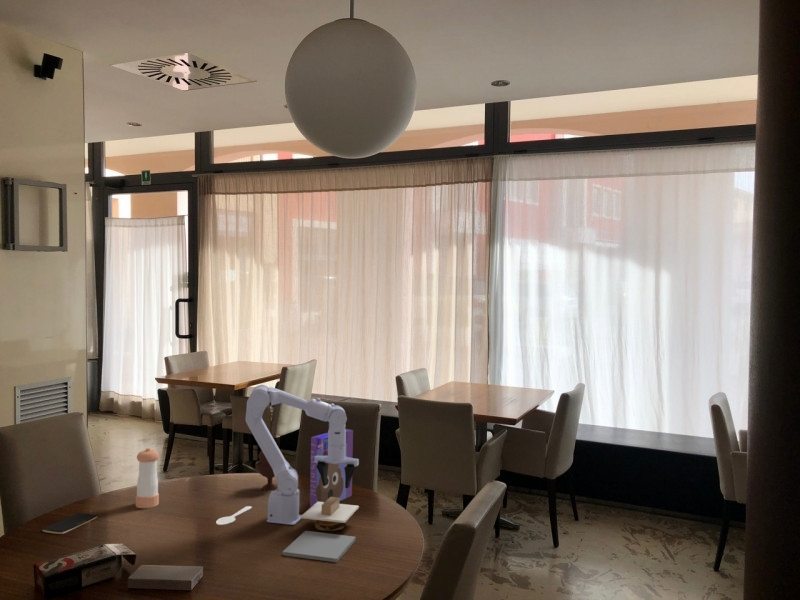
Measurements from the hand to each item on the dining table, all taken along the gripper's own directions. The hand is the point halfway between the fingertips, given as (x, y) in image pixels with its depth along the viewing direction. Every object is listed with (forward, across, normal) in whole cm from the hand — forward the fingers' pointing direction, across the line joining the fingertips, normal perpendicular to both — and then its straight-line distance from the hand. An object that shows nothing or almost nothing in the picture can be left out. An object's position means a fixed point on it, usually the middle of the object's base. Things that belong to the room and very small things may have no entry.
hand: (336, 486), depth 201 cm
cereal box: (+11, -7, +15) cm, 20 cm away
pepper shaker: (+10, -65, -7) cm, 66 cm away
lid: (+6, +1, -8) cm, 10 cm away
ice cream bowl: (+10, -34, +22) cm, 42 cm away
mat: (+10, +4, -23) cm, 26 cm away
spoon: (+11, -32, -7) cm, 35 cm away
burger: (+11, +1, -7) cm, 13 cm away
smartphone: (+11, -76, -29) cm, 82 cm away
